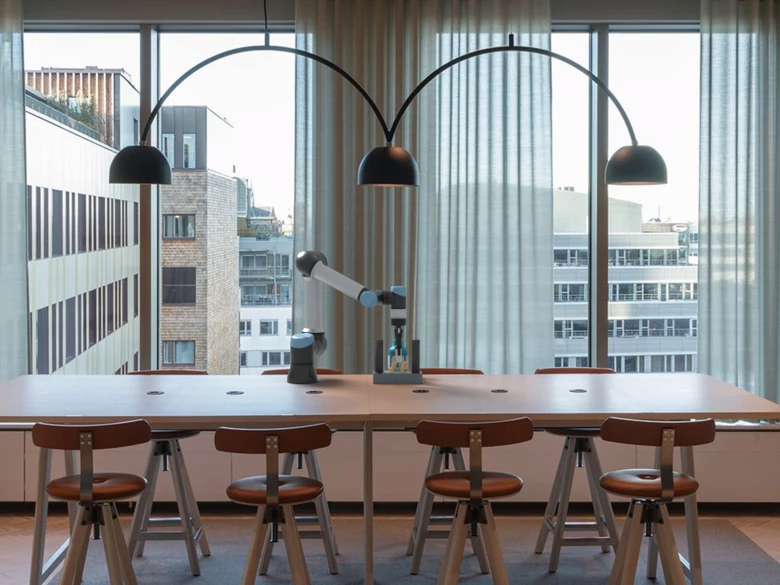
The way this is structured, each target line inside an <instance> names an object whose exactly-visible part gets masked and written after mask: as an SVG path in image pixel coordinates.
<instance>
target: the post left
mask: <svg viewBox="0 0 780 585" xmlns="http://www.w3.org/2000/svg"><path fill="white" fill-rule="evenodd" d="M374 371H375V372H376V373H383V371H384V339H374Z"/></svg>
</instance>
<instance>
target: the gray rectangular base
mask: <svg viewBox="0 0 780 585" xmlns="http://www.w3.org/2000/svg"><path fill="white" fill-rule="evenodd" d="M372 384H373V385H378V384H379V385H380V384H381V385H390V384H392V385H394V384H395V385H397V384H398V385H399V384H400V385H401V384H403V385H404V384H406V385H408V384H410V385H411V384H413V385H414V384H415V385H417V384H418V385H419V384H423V372H422V370H420V372H419V373H413V372H412V370H408V371H389V370H383V373H376V372H375V370H372Z"/></svg>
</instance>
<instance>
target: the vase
mask: <svg viewBox="0 0 780 585" xmlns="http://www.w3.org/2000/svg"><path fill="white" fill-rule="evenodd" d="M395 346H396V345H395V338H394V339H392V345H391V347H389V348H388V351H387V371H391V370H390V369H391V367H392V365H393V362H394V361H395V362H396V359H395ZM404 361H405V362H407V365H406V367H405V369H404V371H409V350H408V348H407V347H405V344H404V339H403V338H402V362H397V365H396V367H395V369H394V371H402V370H400V369H401V367H402V365H403V363H404Z"/></svg>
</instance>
